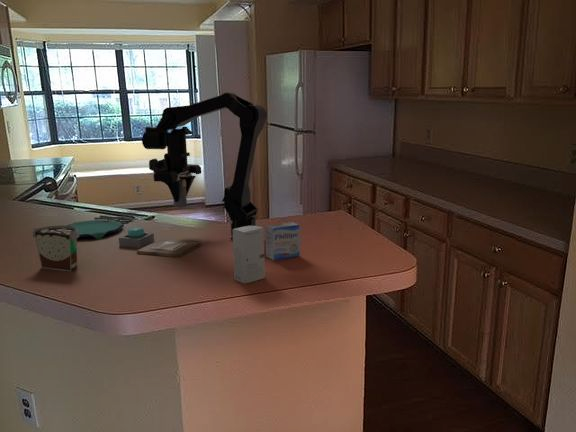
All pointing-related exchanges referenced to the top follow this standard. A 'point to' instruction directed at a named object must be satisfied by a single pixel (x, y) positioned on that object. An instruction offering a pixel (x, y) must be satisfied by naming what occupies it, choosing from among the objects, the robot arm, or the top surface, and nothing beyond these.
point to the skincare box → (248, 253)
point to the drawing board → (168, 248)
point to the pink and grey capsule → (182, 196)
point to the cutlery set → (100, 226)
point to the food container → (57, 247)
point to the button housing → (136, 241)
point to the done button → (135, 232)
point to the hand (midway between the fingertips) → (180, 200)
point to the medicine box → (282, 241)
